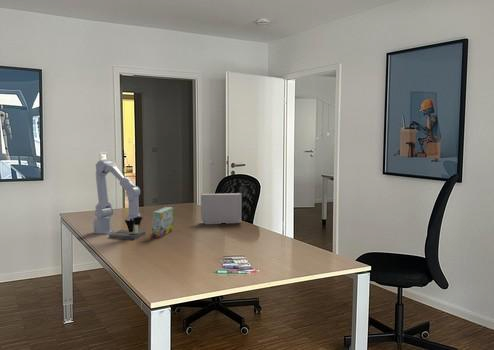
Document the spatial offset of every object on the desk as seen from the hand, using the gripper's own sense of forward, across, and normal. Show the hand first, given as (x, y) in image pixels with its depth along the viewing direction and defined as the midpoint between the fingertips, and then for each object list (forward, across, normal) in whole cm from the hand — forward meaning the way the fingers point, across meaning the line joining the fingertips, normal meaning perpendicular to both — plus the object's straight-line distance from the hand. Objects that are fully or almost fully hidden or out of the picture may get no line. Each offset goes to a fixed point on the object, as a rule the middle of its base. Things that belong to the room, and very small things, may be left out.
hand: (133, 230), depth 274 cm
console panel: (+4, 0, +4) cm, 6 cm away
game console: (+4, +55, -37) cm, 66 cm away
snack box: (+4, +12, -13) cm, 18 cm away
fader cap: (+1, 0, 0) cm, 1 cm away
